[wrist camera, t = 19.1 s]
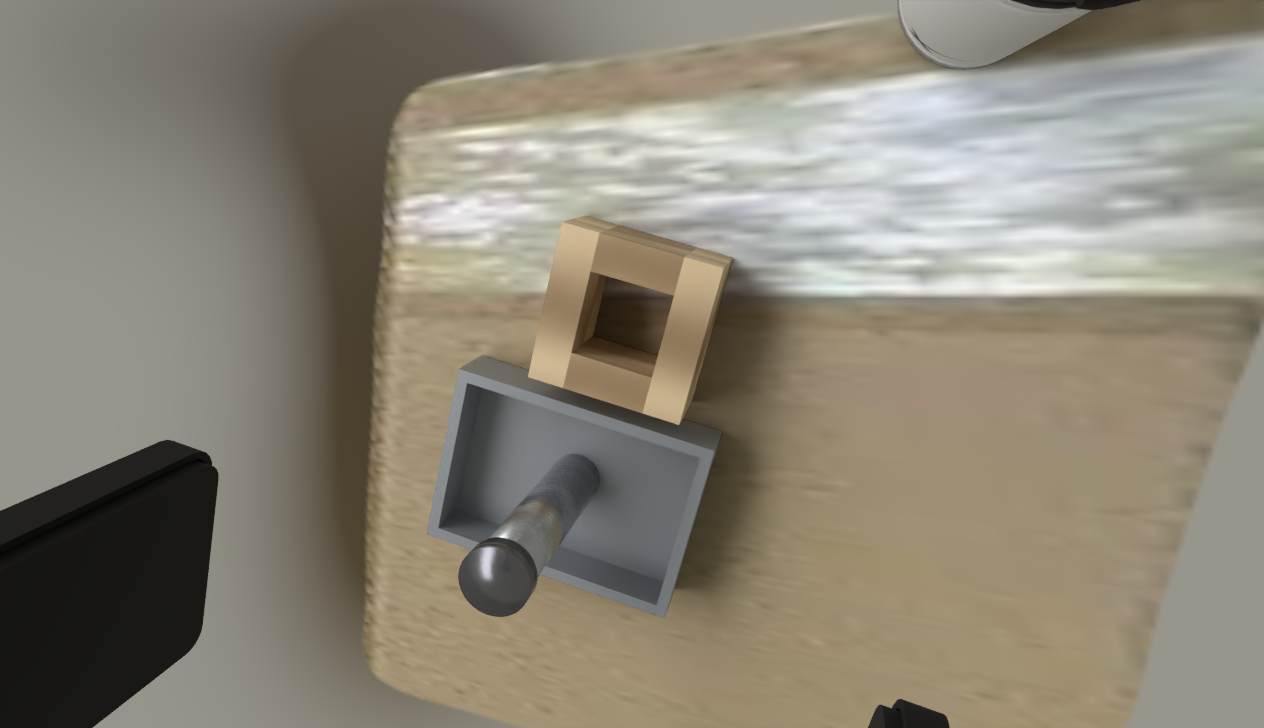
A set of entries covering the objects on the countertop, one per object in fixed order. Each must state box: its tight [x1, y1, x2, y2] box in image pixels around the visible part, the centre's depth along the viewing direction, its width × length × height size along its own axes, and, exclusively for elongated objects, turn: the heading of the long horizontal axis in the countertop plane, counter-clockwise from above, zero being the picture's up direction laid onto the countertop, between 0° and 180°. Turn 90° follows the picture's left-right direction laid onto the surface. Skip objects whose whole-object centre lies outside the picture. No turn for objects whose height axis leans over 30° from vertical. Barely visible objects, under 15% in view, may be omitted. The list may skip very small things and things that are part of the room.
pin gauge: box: [458, 454, 600, 617], centre depth 41 cm, size 3×3×12 cm
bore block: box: [528, 216, 733, 425], centre depth 42 cm, size 8×8×4 cm
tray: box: [427, 355, 722, 618], centre depth 46 cm, size 10×14×3 cm
